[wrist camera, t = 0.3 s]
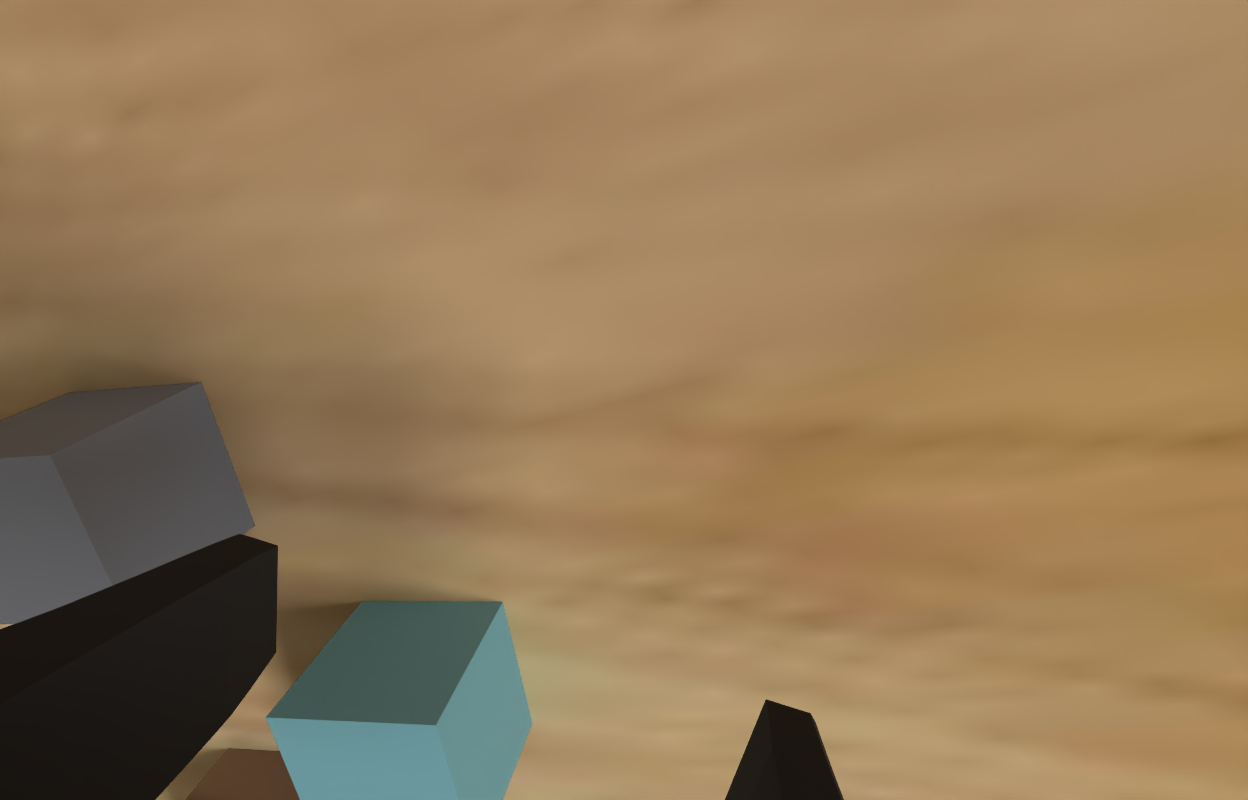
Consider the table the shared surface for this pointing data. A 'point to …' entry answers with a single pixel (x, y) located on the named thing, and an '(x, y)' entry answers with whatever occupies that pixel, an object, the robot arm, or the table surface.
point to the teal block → (407, 706)
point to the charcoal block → (109, 492)
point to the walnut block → (247, 778)
